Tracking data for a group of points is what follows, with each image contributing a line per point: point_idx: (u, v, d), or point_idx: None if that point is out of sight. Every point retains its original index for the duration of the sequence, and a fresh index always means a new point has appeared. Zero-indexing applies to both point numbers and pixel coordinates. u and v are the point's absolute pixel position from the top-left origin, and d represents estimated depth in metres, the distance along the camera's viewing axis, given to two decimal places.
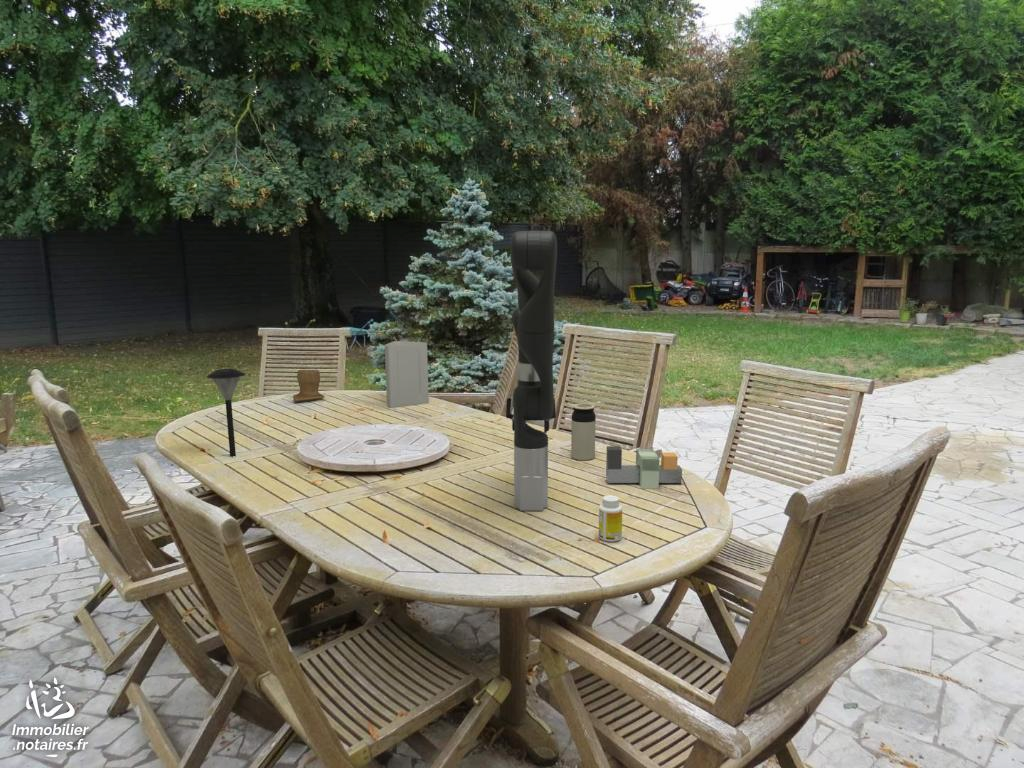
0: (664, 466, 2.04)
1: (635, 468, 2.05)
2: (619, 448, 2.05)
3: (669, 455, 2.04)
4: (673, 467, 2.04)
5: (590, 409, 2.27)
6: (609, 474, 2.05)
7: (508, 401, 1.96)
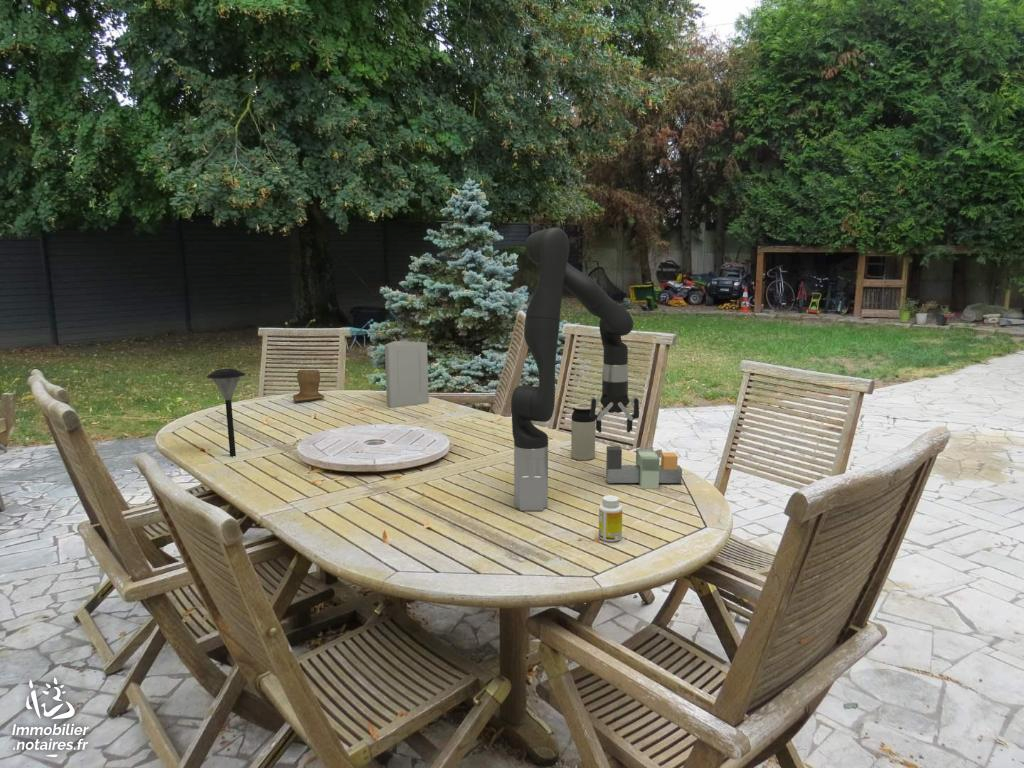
0: (664, 466, 2.04)
1: (635, 468, 2.05)
2: (619, 448, 2.05)
3: (669, 455, 2.04)
4: (673, 467, 2.04)
5: None
6: (609, 474, 2.05)
7: (593, 402, 2.01)
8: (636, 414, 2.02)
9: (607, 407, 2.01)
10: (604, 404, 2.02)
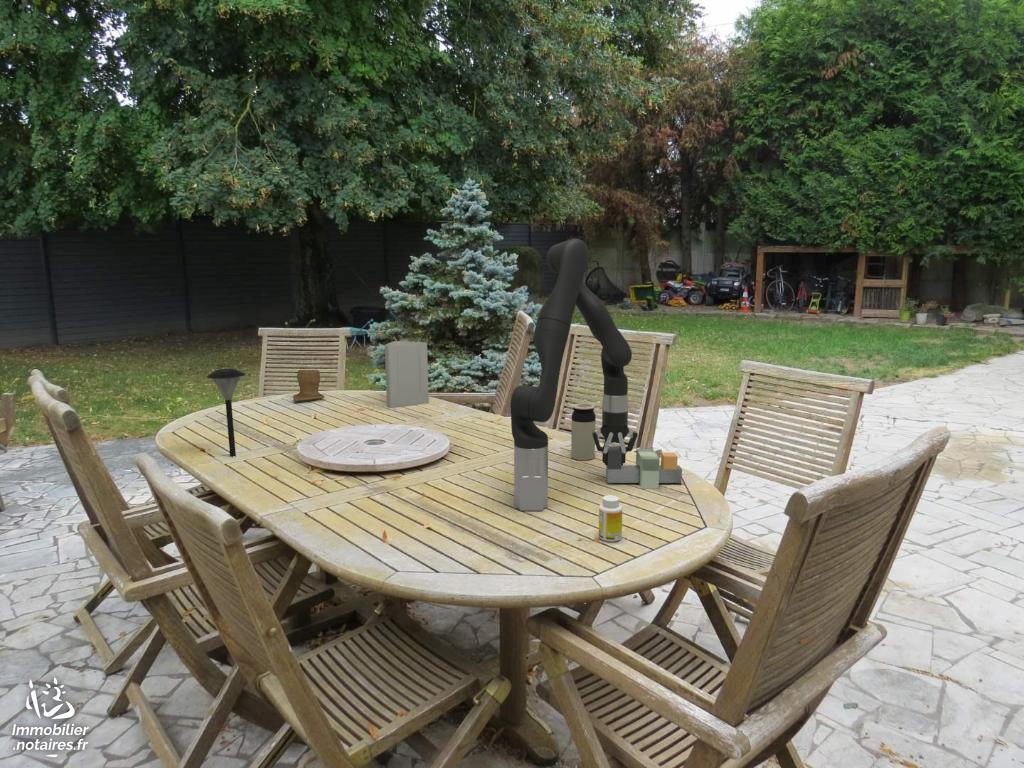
0: (664, 466, 2.04)
1: (635, 468, 2.05)
2: (619, 448, 2.05)
3: (669, 455, 2.04)
4: (673, 467, 2.04)
5: (590, 409, 2.27)
6: (609, 474, 2.05)
7: (594, 435, 2.03)
8: (630, 447, 2.04)
9: (608, 438, 2.03)
10: (605, 436, 2.03)
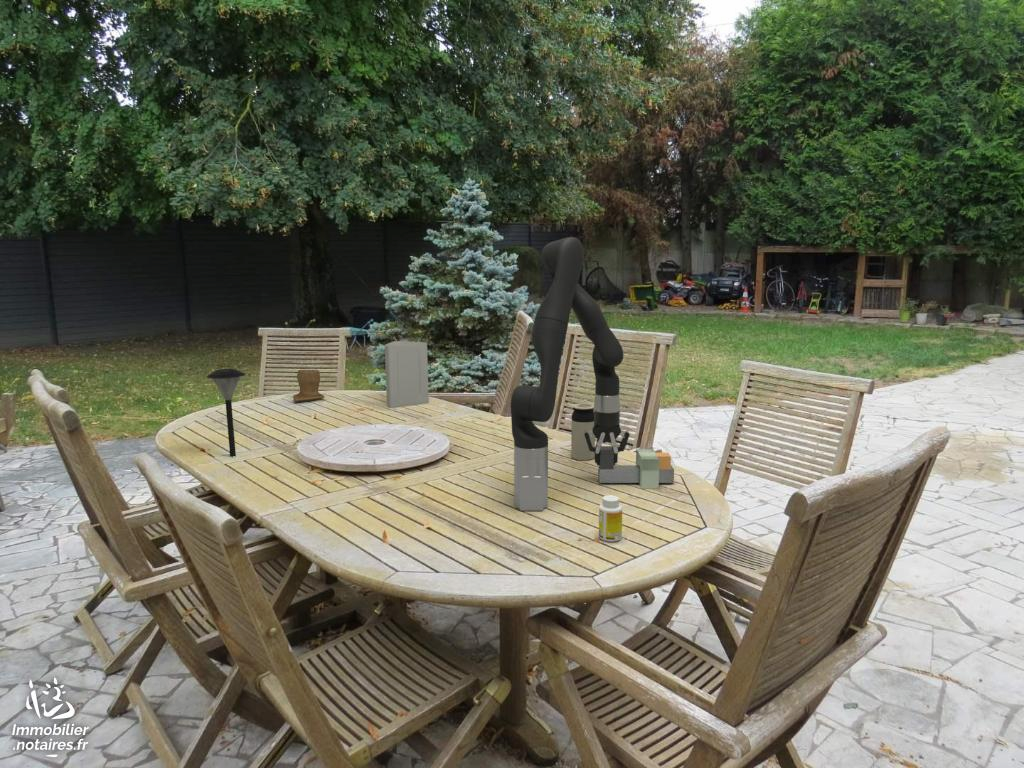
0: None
1: (627, 468, 2.05)
2: (611, 448, 2.05)
3: (662, 455, 2.04)
4: (666, 467, 2.04)
5: (590, 409, 2.27)
6: (601, 474, 2.05)
7: (586, 436, 2.03)
8: (622, 447, 2.04)
9: (600, 438, 2.03)
10: (597, 436, 2.03)
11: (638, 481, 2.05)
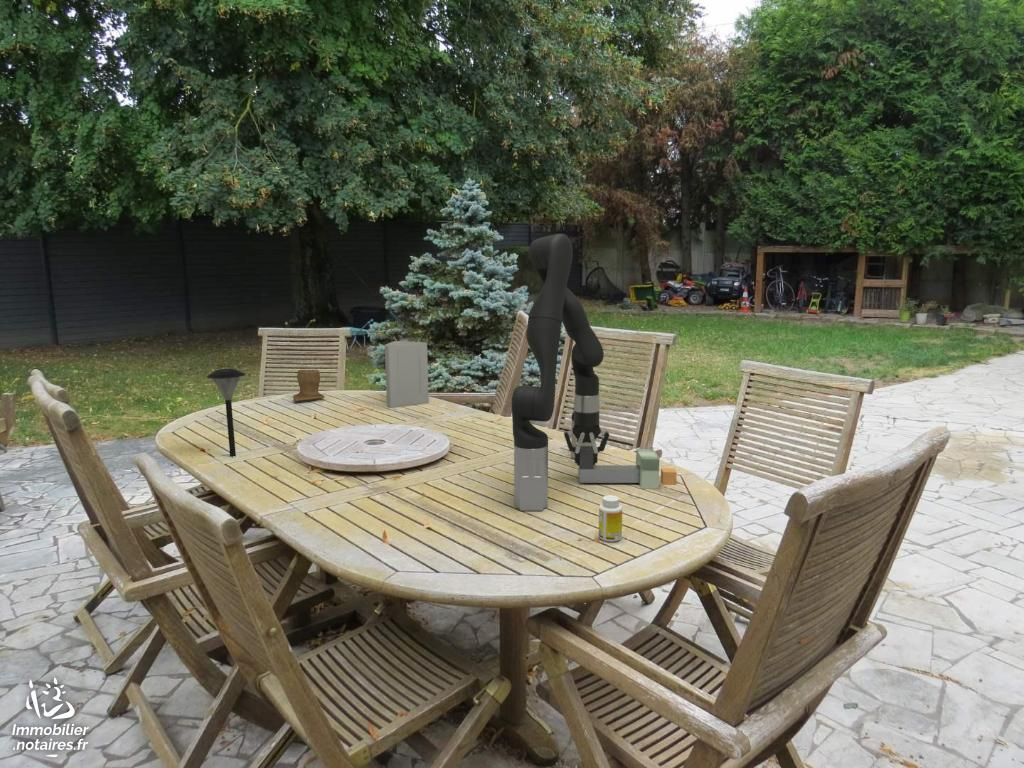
0: (665, 472, 2.04)
1: (607, 468, 2.05)
2: (591, 448, 2.05)
3: (675, 477, 2.05)
4: (665, 481, 2.05)
5: None
6: (581, 474, 2.05)
7: (566, 436, 2.03)
8: (602, 447, 2.04)
9: (580, 438, 2.03)
10: (576, 436, 2.04)
11: (618, 481, 2.05)
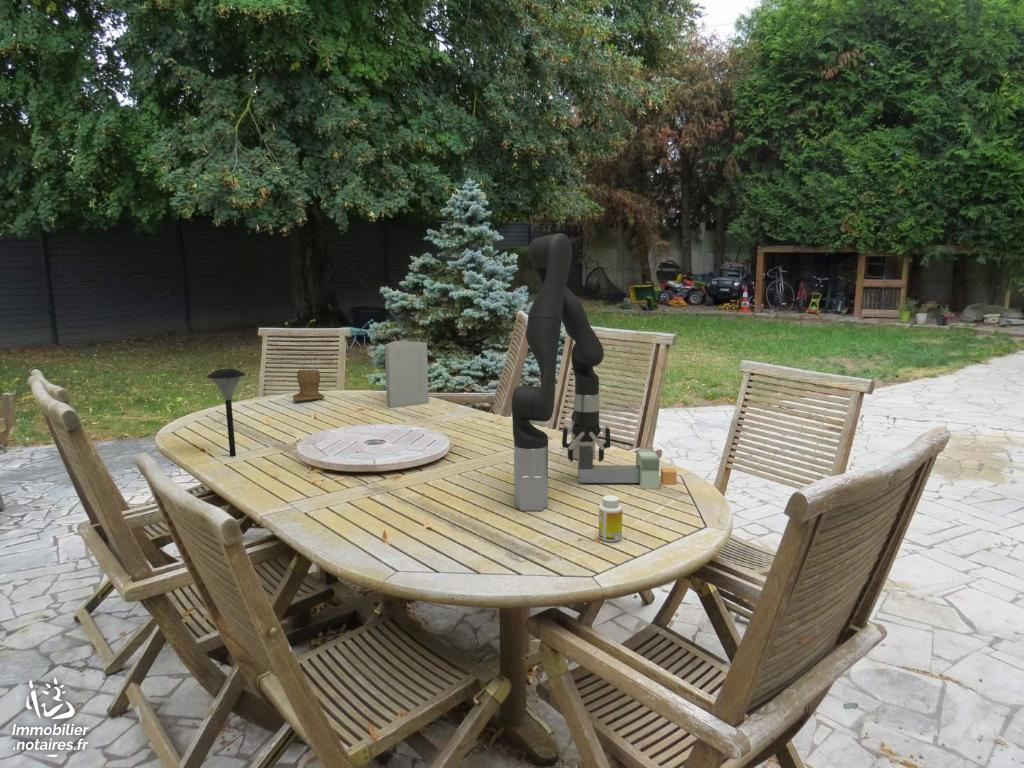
0: (665, 472, 2.04)
1: (606, 468, 2.05)
2: (590, 448, 2.05)
3: (675, 477, 2.05)
4: (665, 481, 2.05)
5: None
6: (580, 474, 2.05)
7: (565, 431, 2.03)
8: (607, 443, 2.03)
9: (578, 436, 2.03)
10: (576, 433, 2.03)
11: (617, 481, 2.05)
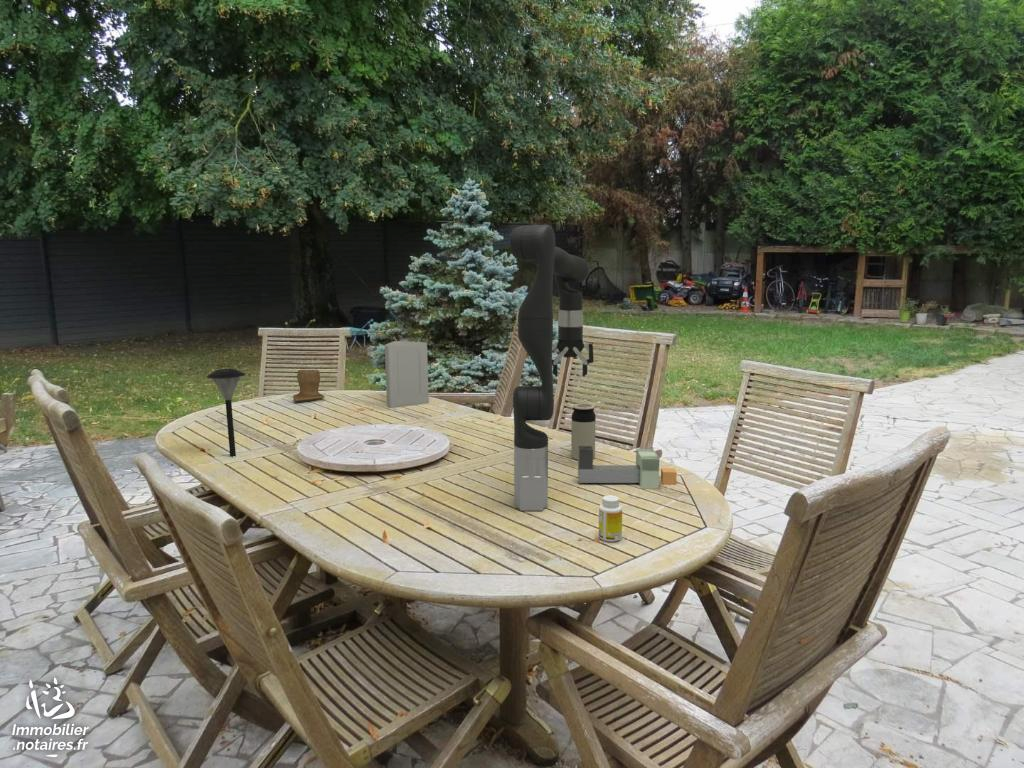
0: (665, 472, 2.04)
1: (606, 468, 2.05)
2: (590, 448, 2.05)
3: (675, 477, 2.05)
4: (665, 481, 2.05)
5: (590, 409, 2.27)
6: (580, 474, 2.05)
7: None
8: (590, 359, 2.12)
9: (562, 351, 2.11)
10: (560, 349, 2.11)
11: (617, 481, 2.05)
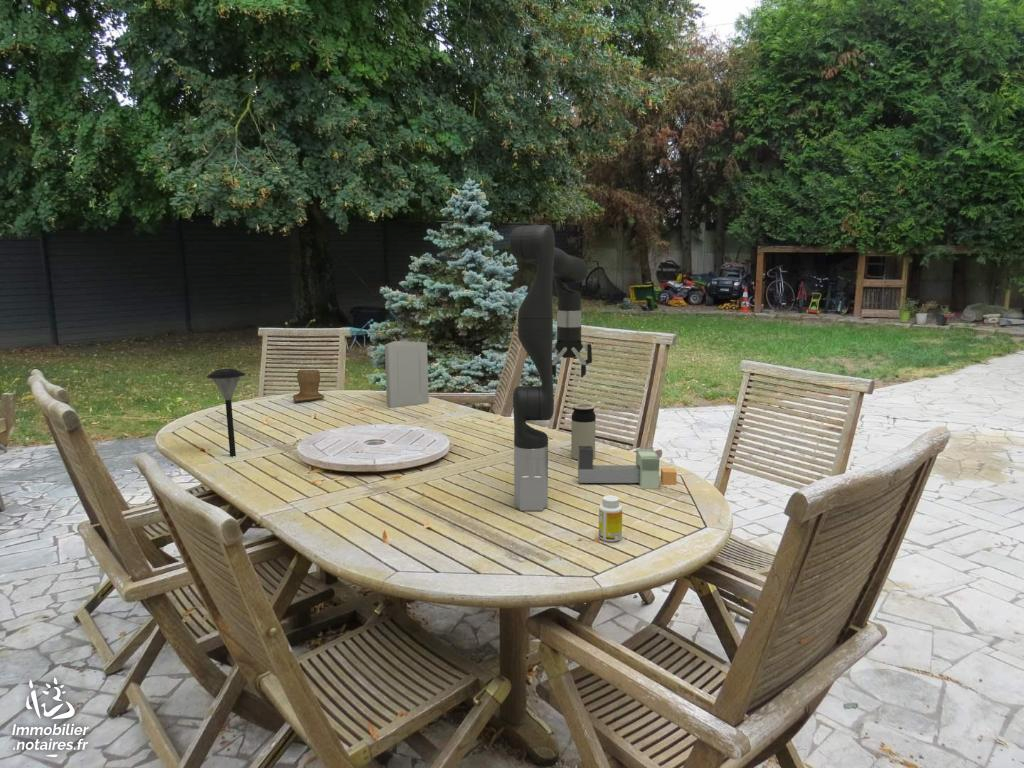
0: (665, 472, 2.04)
1: (606, 468, 2.05)
2: (590, 448, 2.05)
3: (675, 477, 2.05)
4: (665, 481, 2.05)
5: (590, 409, 2.27)
6: (580, 474, 2.05)
7: None
8: (589, 359, 2.12)
9: (561, 352, 2.11)
10: (558, 349, 2.12)
11: (617, 481, 2.05)
